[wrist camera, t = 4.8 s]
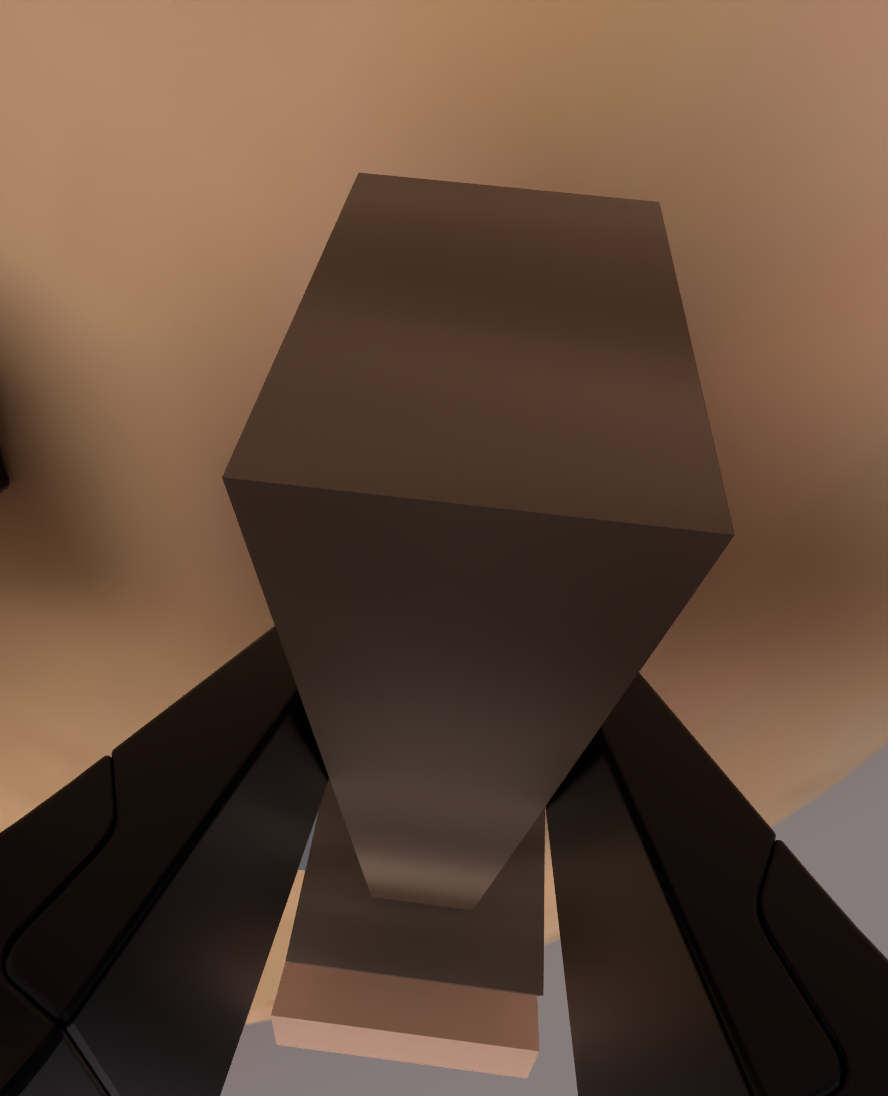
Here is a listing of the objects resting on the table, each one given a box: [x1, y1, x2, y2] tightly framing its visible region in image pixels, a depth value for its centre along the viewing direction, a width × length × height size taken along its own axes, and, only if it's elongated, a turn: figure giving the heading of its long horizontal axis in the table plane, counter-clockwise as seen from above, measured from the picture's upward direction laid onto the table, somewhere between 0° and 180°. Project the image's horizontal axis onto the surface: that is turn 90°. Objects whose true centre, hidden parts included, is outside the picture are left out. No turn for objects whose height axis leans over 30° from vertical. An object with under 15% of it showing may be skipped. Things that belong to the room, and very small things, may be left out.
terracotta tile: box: [271, 961, 539, 1078], centre depth 20 cm, size 7×2×9 cm, turn 85°
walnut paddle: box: [222, 173, 734, 996], centre depth 10 cm, size 16×6×5 cm, turn 176°
